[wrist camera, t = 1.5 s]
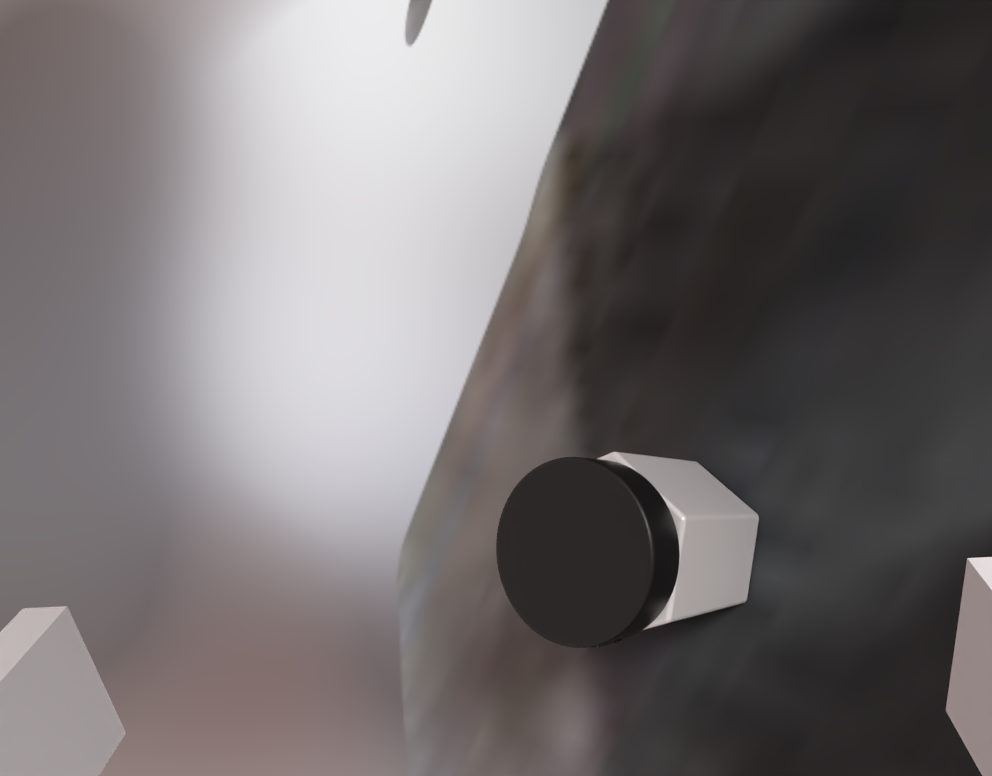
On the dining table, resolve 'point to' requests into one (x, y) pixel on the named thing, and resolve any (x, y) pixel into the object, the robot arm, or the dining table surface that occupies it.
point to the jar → (622, 546)
